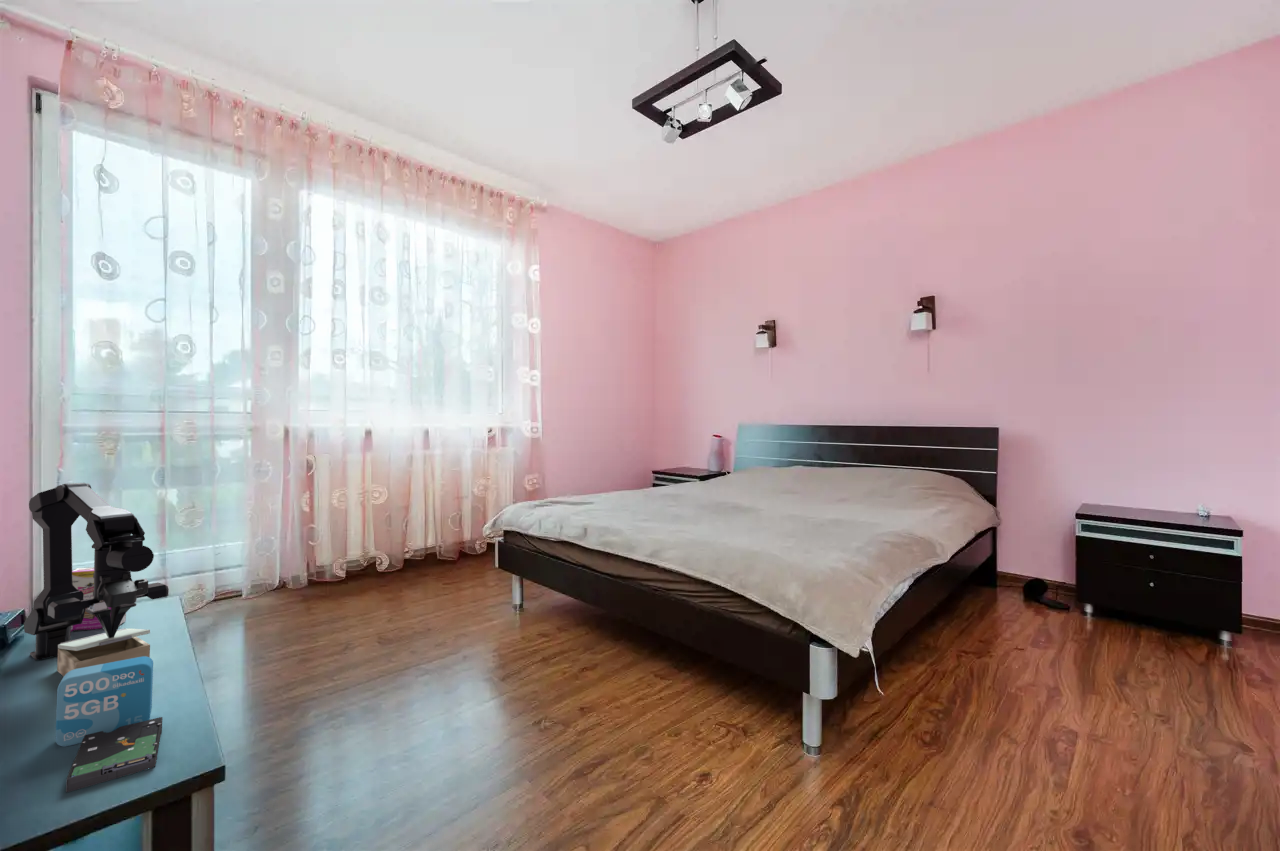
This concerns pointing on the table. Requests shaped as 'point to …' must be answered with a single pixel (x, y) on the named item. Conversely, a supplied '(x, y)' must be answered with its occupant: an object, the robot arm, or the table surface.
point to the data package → (103, 698)
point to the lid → (102, 639)
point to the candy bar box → (86, 597)
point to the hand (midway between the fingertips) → (110, 637)
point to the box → (101, 654)
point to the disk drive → (115, 754)
